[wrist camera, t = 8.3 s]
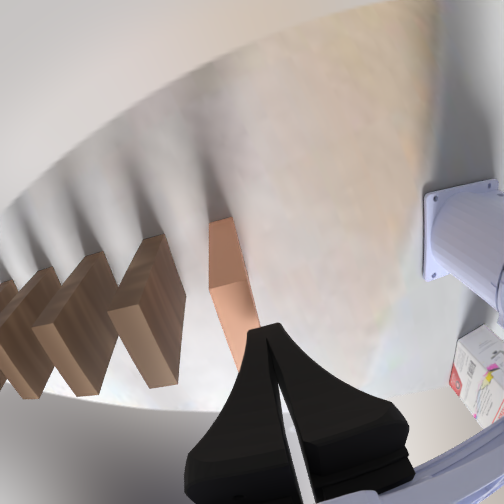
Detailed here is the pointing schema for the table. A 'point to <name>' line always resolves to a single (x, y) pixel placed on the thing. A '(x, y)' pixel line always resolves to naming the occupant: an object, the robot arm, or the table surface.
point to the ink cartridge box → (480, 374)
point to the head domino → (231, 287)
